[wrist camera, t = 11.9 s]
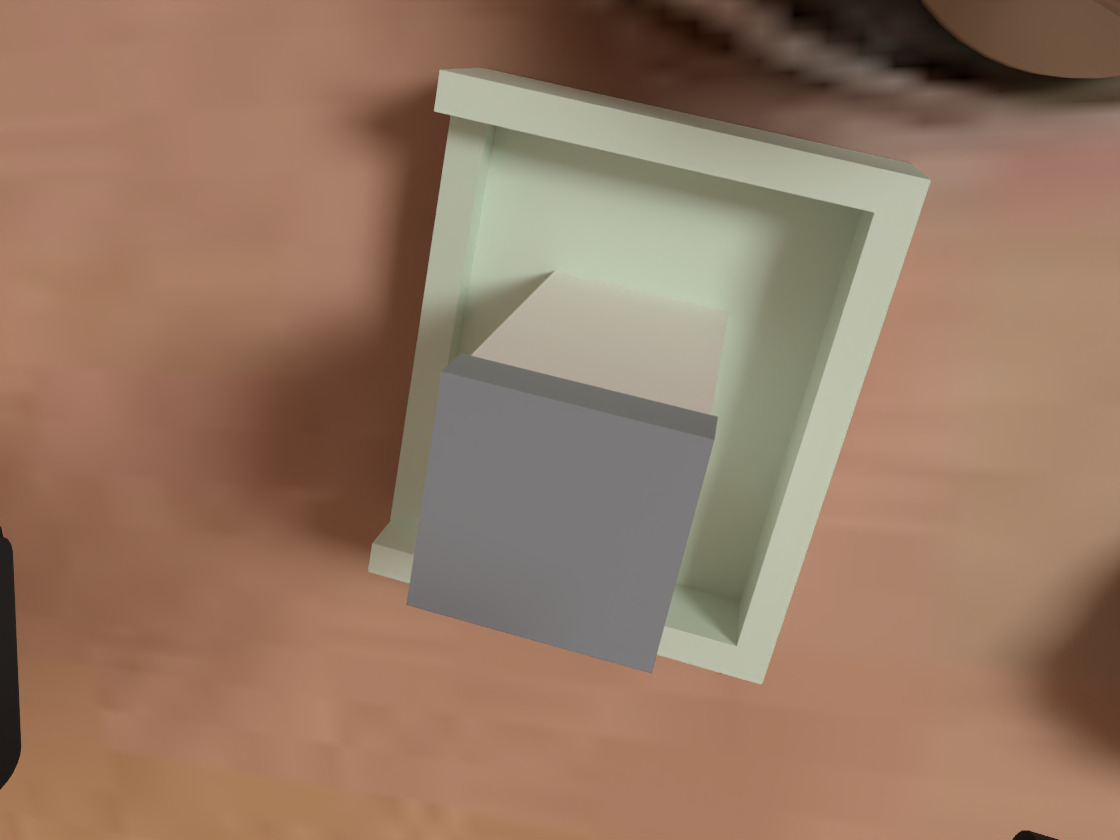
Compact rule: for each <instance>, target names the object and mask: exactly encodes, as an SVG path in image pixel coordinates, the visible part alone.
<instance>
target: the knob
mask: <svg viewBox="0 0 1120 840" xmlns="http://www.w3.org/2000/svg"><path fill="white" fill-rule="evenodd" d="M920 1H921V3H922V4H923V6H924V7H925V8H926V9H927V10H928V12H929V13H930V14H931V15H932V16H933V17H934V19H935V20H936V21H937V22H938V23H939V24H940V25H941V26H942V27H943V28H944V29H945V30H946V31H948V32H949V33H950V34H951V35H952V36H953V37H954V38H956V39H957V40H958V41H959V42H961V43H962V44H964V45H965V46H967V47H968V48H970V49H972V50H973V51H975V52H976V53H978V54H979V55H981V56H983V57H986V58H988V59H990V60H992V61H995V62H997V63H999V64H1001V65H1004V66H1007V67H1010V68H1014V69H1017V70H1021V71H1024V72H1028V73H1033V74H1040V75H1047V76H1054V77H1064V78H1106V77H1115V76H1120V0H920Z"/></svg>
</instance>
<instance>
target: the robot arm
mask: <svg viewBox="0 0 1120 840" xmlns="http://www.w3.org/2000/svg"><path fill="white" fill-rule="evenodd" d="M20 752H21V732H20V709H19V685H18V662H17V639H16V615H15V592H14V568H13V551H12V546H11V543H10V542H9V540H8V539H6V538H4V537H3V534H2V529H1V527H0V789H1V788H2V787H3V786H4V785H5V783H6V782H7V781H8V780H9V778H10V777H11V775H12V774H13V772H14V770H15V768H16V765H17V763H18V760H19V757H20ZM1013 840H1058V839H1055V838H1051V837H1048V836H1045V835H1041V834H1038V833H1035V832H1031V831H1021V832H1019V833H1018V834H1017V835H1015V837H1014V838H1013Z"/></svg>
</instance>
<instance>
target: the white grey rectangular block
mask: <svg viewBox="0 0 1120 840" xmlns="http://www.w3.org/2000/svg"><path fill="white" fill-rule="evenodd" d="M728 313H729V312H728V311H724V310H720V309H716V308H711V307H707V306H703V305H699V304H694V303H690V302H686V301H682V300H677V299H673V298H669V297H664V296H660V295H656V294H652V293H647V292H643V291H639V290H635V289H630V288H626V287H622V286H618V285H613V284H609V283H605V282H601V281H596V280H592V279H588V278H583V277H579V276H575V275H571V274H566V273H562V272H558V271H554V272H553V273H552V274H551V275H550V276H549V277H548V278H547V279H546V280H545V281H544V282H543V283H542V284H541V285H540V286H539V287H538V288H537V289H536V290H535V291H534V292H533V293H532V294H531V295H530V296H529V297H528V298H527V299H526V300H525V301H524V302H523V303H522V304H521V305H520V306H519V307H518V308H517V309H516V310H515V311H514V312H513V313H512V314H511V315H510V316H509V317H508V318H507V319H506V320H505V321H504V322H503V323H502V324H501V325H500V326H499V327H498V328H497V329H496V330H495V331H494V332H493V333H492V334H491V335H490V336H489V337H488V339H487V340H486V341H485V342H484V343H483V344H482V345H481V346H480V347H479V348H478V349H477V350H476V351H475V352H474V353H473V354H472V355H471V356H470V355H466V354H462V353H460V354H459V355H458V356H457V357H456V358H455V359H454V360H453V361H452V362H451V363H450V364H449V365H448V366H447V367H446V368H445V369H444V370H443V371H442V372H441V379H440V385H439V392H438V399H437V405H436V412H435V419H434V425H433V432H432V439H431V445H430V452H429V459H428V465H427V472H426V478H425V485H424V492H423V498H422V505H421V512H420V518H419V525H418V532H417V538H416V545H415V552H414V558H413V565H412V571H411V578H410V585H409V591H408V598H407V605H409V606H412V607H416V608H419V609H423V610H427V611H430V612H434V613H437V614H441V615H444V616H448V617H452V618H455V619H459V620H462V621H466V622H469V623H473V624H477V625H480V626H484V627H487V628H491V629H494V630H498V631H502V632H505V633H509V634H512V635H516V636H519V637H523V638H526V639H530V640H534V641H537V642H541V643H544V644H548V645H551V646H555V647H559V648H562V649H566V650H569V651H573V652H576V653H580V654H584V655H587V656H591V657H594V658H598V659H601V660H605V661H609V662H612V663H616V664H619V665H623V666H626V667H630V668H634V669H637V670H641V671H644V672H648V673H651V674H652V670H653V667H654V663H655V659H656V655H657V652H658V648H659V644H660V641H661V637H662V633H663V629H664V626H665V622H666V618H667V615H668V611H669V607H670V603H671V600H672V596H673V592H674V589H675V585H676V581H677V577H678V574H679V570H680V566H681V563H682V559H683V555H684V551H685V548H686V544H687V540H688V537H689V533H690V529H691V525H692V522H693V518H694V514H695V511H696V507H697V503H698V499H699V496H700V492H701V488H702V485H703V481H704V477H705V473H706V470H707V466H708V462H709V459H710V455H711V451H712V447H713V444H714V440H715V433H716V427H717V420H718V417H717V416H713V415H711V413H712V407H713V401H714V395H715V389H716V384H717V378H718V372H719V366H720V360H721V354H722V348H723V342H724V337H725V331H726V325H727V319H728Z"/></svg>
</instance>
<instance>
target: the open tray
mask: <svg viewBox="0 0 1120 840" xmlns="http://www.w3.org/2000/svg"><path fill="white" fill-rule="evenodd" d="M434 112H439V113H443V114H447V115H451V116H450V123H449V130H448V137H447V143H446V150H445V157H444V163H443V170H442V177H441V183H440V190H439V197H438V203H437V210H436V217H435V224H434V230H433V237H432V244H431V250H430V257H429V264H428V270H427V277H426V284H425V291H424V297H423V304H422V311H421V317H420V324H419V331H418V337H417V344H416V351H415V358H414V364H413V371H412V378H411V384H410V391H409V398H408V404H407V411H406V418H405V425H404V431H403V438H402V445H401V451H400V458H399V465H398V471H397V478H396V485H395V492H394V498H393V505H392V512H391V518H390V522H389V523H388V524H387V526H386V527H385V528H384V529H383V530H382V532H381V533H380V534H379V535H378V537H377V538H376V539H375V540H374V541H373V543H372V548H371V555H370V562H369V569H368V572H371V573H374V574H378V575H381V576H385V577H388V578H392V579H395V580H398V581H402V582H405V583H409V584H410V578H411V571H412V565H413V558H414V552H415V545H416V538H417V532H418V525H419V518H420V512H421V505H422V498H423V492H424V485H425V478H426V472H427V465H428V459H429V452H430V445H431V439H432V432H433V425H434V419H435V412H436V405H437V399H438V392H439V385H440V379H441V372H442V371H443V370H444V369H445V368H446V367H447V366H448V365H449V364H450V363H451V362H452V361H453V360H454V359H455V358H456V357H457V356H458V355H459V354H460V353H462V354H466V355H470V356H471V355H472V354H473V353H474V352H475V351H476V350H477V349H478V348H479V347H480V346H481V345H482V344H483V343H484V342H485V341H486V340H487V339H488V337H489V336H490V335H491V334H492V333H493V332H494V331H495V330H496V329H497V328H498V327H499V326H500V325H501V324H502V323H503V322H504V321H505V320H506V319H507V318H508V317H509V316H510V315H511V314H512V313H513V312H514V311H515V310H516V309H517V308H518V307H519V306H520V305H521V304H522V303H523V302H524V301H525V300H526V299H527V298H528V297H529V296H530V295H531V294H532V293H533V292H534V291H535V290H536V289H537V288H538V287H539V286H540V285H541V284H542V283H543V282H544V281H545V280H546V279H547V278H548V277H549V276H550V275H551V274H552V273H553V272H554V271H558V272H562V273H566V274H571V275H575V276H579V277H583V278H588V279H592V280H596V281H601V282H605V283H609V284H613V285H618V286H622V287H626V288H630V289H635V290H639V291H643V292H647V293H652V294H656V295H660V296H664V297H669V298H673V299H677V300H682V301H686V302H690V303H694V304H699V305H703V306H707V307H711V308H716V309H720V310H724V311H728V312H729V313H728V319H727V325H726V331H725V337H724V342H723V348H722V354H721V360H720V366H719V372H718V378H717V384H716V389H715V395H714V401H713V407H712V413H711V415H713V416H717V417H718V420H717V427H716V433H715V440H714V444H713V447H712V451H711V455H710V459H709V462H708V466H707V470H706V473H705V477H704V481H703V485H702V488H701V492H700V496H699V499H698V503H697V507H696V511H695V514H694V518H693V522H692V525H691V529H690V533H689V537H688V540H687V544H686V548H685V551H684V555H683V559H682V563H681V566H680V570H679V574H678V577H677V581H676V585H675V589H674V592H673V596H672V600H671V603H670V607H669V611H668V615H667V618H666V622H665V626H664V629H663V633H662V637H661V641H660V644H659V648H658V652H657V655H660V656H664V657H667V658H671V659H674V660H677V661H681V662H684V663H688V664H691V665H695V666H698V667H702V668H705V669H709V670H712V671H716V672H719V673H723V674H726V675H730V676H733V677H737V678H740V679H744V680H747V681H751V682H754V683H758V684H761V685H762V683H763V680H764V677H765V674H766V671H767V668H768V665H769V662H770V659H771V656H772V653H773V650H774V647H775V644H776V641H777V638H778V635H779V632H780V629H781V626H782V623H783V620H784V617H785V614H786V611H787V608H788V605H789V602H790V599H791V596H792V593H793V590H794V587H795V584H796V581H797V578H798V575H799V572H800V569H801V566H802V563H803V560H804V557H805V554H806V551H807V548H808V545H809V542H810V539H811V536H812V534H813V531H814V528H815V525H816V522H817V519H818V516H819V513H820V510H821V507H822V504H823V501H824V498H825V495H826V492H827V489H828V486H829V483H830V480H831V477H832V474H833V471H834V468H835V465H836V462H837V459H838V456H839V453H840V450H841V447H842V444H843V441H844V438H845V435H846V432H847V429H848V426H849V423H850V420H851V417H852V414H853V411H854V408H855V405H856V402H857V399H858V396H859V393H860V390H861V387H862V384H863V381H864V378H865V375H866V372H867V369H868V366H869V364H870V361H871V358H872V355H873V352H874V349H875V346H876V343H877V340H878V337H879V334H880V331H881V328H882V325H883V322H884V319H885V316H886V313H887V310H888V307H889V304H890V301H891V298H892V295H893V292H894V289H895V286H896V283H897V280H898V277H899V274H900V271H901V268H902V265H903V262H904V259H905V256H906V253H907V250H908V247H909V244H910V241H911V238H912V235H913V232H914V229H915V226H916V223H917V220H918V217H919V214H920V211H921V208H922V205H923V202H924V199H925V197H926V194H927V191H928V188H929V185H930V182H931V180H930V179H929V178H928V177H927V176H926V175H924V174H923V173H922V172H921V171H919V170H918V169H917V168H916V167H914V166H913V165H912V164H911V163H907V162H903V161H898V160H894V159H889V158H885V157H880V156H876V155H871V154H867V153H862V152H858V151H853V150H849V149H844V148H840V147H835V146H831V145H826V144H822V143H818V142H813V141H809V140H804V139H800V138H795V137H791V136H786V135H782V134H777V133H773V132H768V131H764V130H759V129H755V128H750V127H746V126H741V125H737V124H732V123H728V122H723V121H719V120H714V119H710V118H706V117H701V116H697V115H692V114H688V113H683V112H679V111H674V110H670V109H665V108H661V107H656V106H652V105H647V104H643V103H638V102H634V101H629V100H625V99H620V98H616V97H611V96H607V95H603V94H598V93H594V92H589V91H585V90H580V89H576V88H571V87H567V86H562V85H558V84H553V83H549V82H544V81H540V80H535V79H531V78H526V77H522V76H517V75H513V74H508V73H504V72H499V71H495V70H491V69H486V68H482V67H479V68H461V69H443V70H440V72H439V79H438V86H437V93H436V100H435V107H434Z"/></svg>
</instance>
